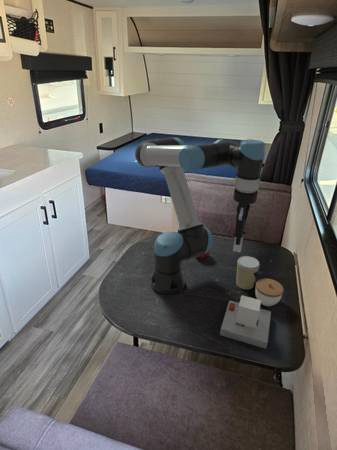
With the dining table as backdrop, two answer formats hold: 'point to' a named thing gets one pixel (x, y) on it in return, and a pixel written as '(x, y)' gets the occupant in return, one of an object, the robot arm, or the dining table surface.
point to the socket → (246, 327)
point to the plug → (248, 311)
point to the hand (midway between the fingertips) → (236, 250)
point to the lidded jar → (268, 291)
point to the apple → (204, 255)
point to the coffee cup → (246, 272)
